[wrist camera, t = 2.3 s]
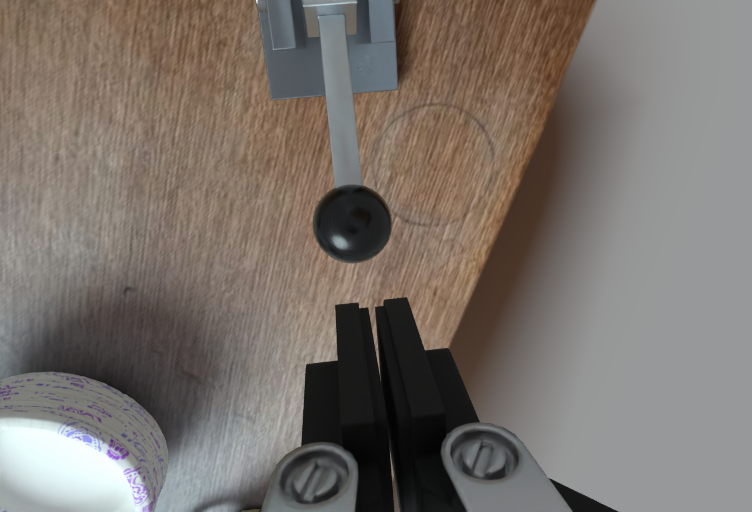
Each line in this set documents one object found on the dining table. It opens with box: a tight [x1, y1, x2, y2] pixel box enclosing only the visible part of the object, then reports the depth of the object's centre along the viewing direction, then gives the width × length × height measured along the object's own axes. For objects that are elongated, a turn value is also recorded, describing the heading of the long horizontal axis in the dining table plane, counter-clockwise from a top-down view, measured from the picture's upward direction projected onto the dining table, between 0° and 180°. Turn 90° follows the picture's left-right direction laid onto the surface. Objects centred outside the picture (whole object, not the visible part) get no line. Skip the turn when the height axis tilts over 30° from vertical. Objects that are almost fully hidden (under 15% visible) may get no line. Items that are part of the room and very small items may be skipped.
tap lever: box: [302, 0, 392, 263], centre depth 20 cm, size 13×3×3 cm, turn 4°
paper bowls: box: [0, 372, 169, 512], centre depth 36 cm, size 15×15×8 cm
